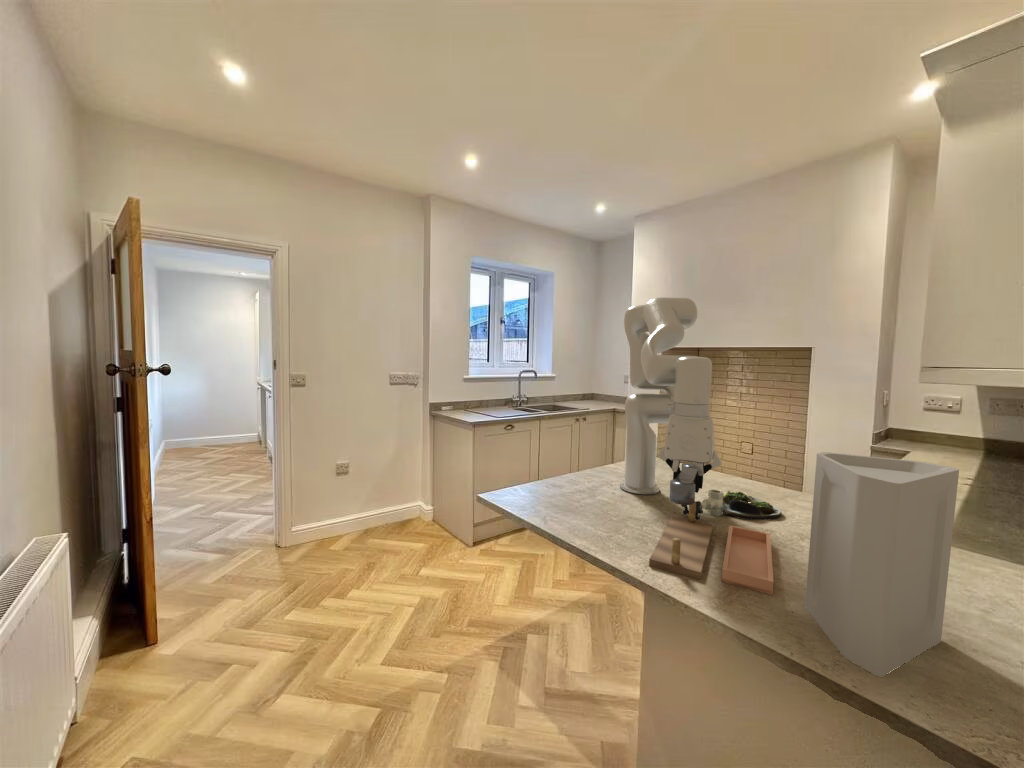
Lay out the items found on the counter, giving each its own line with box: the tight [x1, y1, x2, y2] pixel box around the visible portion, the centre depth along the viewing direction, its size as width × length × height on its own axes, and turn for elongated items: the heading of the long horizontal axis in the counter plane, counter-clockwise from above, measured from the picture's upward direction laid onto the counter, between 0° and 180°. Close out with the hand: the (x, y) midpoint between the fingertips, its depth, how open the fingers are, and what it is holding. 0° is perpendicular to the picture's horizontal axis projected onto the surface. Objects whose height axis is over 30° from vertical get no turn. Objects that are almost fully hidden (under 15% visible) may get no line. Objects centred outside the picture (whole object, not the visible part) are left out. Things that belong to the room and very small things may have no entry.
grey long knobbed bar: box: [668, 462, 698, 506], centre depth 96 cm, size 21×5×4 cm, turn 150°
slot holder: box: [721, 525, 775, 596], centre depth 91 cm, size 25×9×3 cm, turn 150°
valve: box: [680, 489, 724, 521], centre depth 116 cm, size 7×7×12 cm
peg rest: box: [648, 501, 714, 580], centre depth 97 cm, size 28×10×6 cm, turn 150°
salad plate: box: [722, 490, 782, 521], centre depth 123 cm, size 19×18×5 cm
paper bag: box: [804, 451, 960, 678], centre depth 68 cm, size 19×15×28 cm
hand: (687, 488), depth 96 cm, fingers closed on grey long knobbed bar, 3 cm apart
